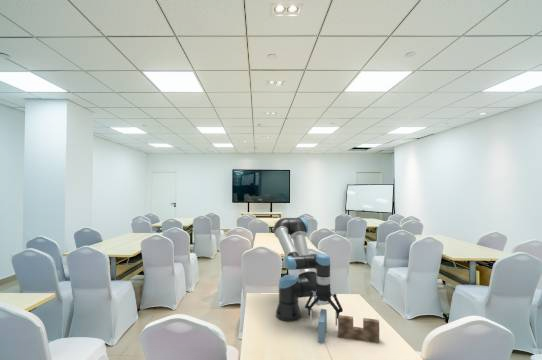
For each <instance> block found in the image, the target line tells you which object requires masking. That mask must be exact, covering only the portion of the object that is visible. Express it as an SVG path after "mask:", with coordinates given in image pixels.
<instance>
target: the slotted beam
mask: <svg viewBox="0 0 542 360" xmlns="http://www.w3.org/2000/svg"><path fill="white" fill-rule="evenodd" d="M362 322H363V323H362V325H363V326H362V327H358V326H354V316H350V315H349V316H348V315H342V314H339V315H338V319H337V328H338V329H337V333H338V335H337V336H338V338H343V339H349V340H356V341H364V342H369V343H376V344H380V320H379V319H374V318H366V317H363V318H362Z"/></svg>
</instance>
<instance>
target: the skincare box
mask: <svg viewBox="0 0 542 360" xmlns="http://www.w3.org/2000/svg"><path fill="white" fill-rule="evenodd" d="M330 292H331V293H332V287H331V286H330ZM316 298H317V296H314V297H313V301H314V300H315V299H316ZM330 298H331V299H332V296H331V297H330ZM316 304H317V305H318V306H321V305H327V304H330V303H329V302H328V301H326V302H325V301H320V300H319V301H318V302H316ZM316 304H315V305H316Z"/></svg>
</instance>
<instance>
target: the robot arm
mask: <svg viewBox="0 0 542 360" xmlns="http://www.w3.org/2000/svg"><path fill="white" fill-rule="evenodd" d="M273 233H274V235H275V237H276V238H277V239H278V241H279V244H280V246H281V248H282V249H281V250H282V251H283V253H284V256H285V258H284V267H285V269H287V270H292V271H294V270H295V271H296V270H299V271H298V272H299V274H298V275H296V274H285V275H283V276H281V277H280V278H279V281H278V304H277V307H276V311H275V316H276V318H277V319H278V320H281V321H284V322H294V321H298V320H301V317H302V312H301V308H300V305H299V298H308V300H307V301H306V303H305V305H304V308H305V309H307V313H308V316H309V317H310V318H309V320H310V321H309V322H310V323H312V322H313V307H314V306H315V305H316V302H318V301H319V300H320V301H325V302H326V301H328V302H329V303H328V304H330V305H331V307H332V308H333V309H334V311H335V326H337V327H338V315H340V313H343V307H342V305H341V303H340V301H339V299H338V296H337V293H336V292H334V293H333V292H332V291H331V292H330V287H331V257H330V255H328V254H325V253H318V254H316V253H310V252H309V248H308V243H307V239H306V237H307V235H308V233H309V225H308V222H307V220H306V219H305V218H304V217H283V218H280V219H278V220H277V221H276V222H275V223H274V226H273ZM315 270H316V271H315ZM314 296H317V298H316V299H315V300H314V299H313V298H314ZM330 297H331V298H330ZM332 298H333V299H334V301H335V303H334V301H333V300H332ZM312 299H313V301H312ZM311 301H312V302H311ZM310 303H311V304H310Z"/></svg>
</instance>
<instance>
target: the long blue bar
mask: <svg viewBox="0 0 542 360" xmlns="http://www.w3.org/2000/svg"><path fill="white" fill-rule="evenodd" d="M327 313H328V311H327V309H326V308H325V309H324V308H321V309H320V312H319V316H318V320H317V323H318V324H317V331H318V332H317V340H318V341H317V342H318V343H322V344H323V343H325V341H326V333H327V328H328V327H327V326H328V325H327V323H328V320H327V319H328V318H327V315H328V314H327Z"/></svg>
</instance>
